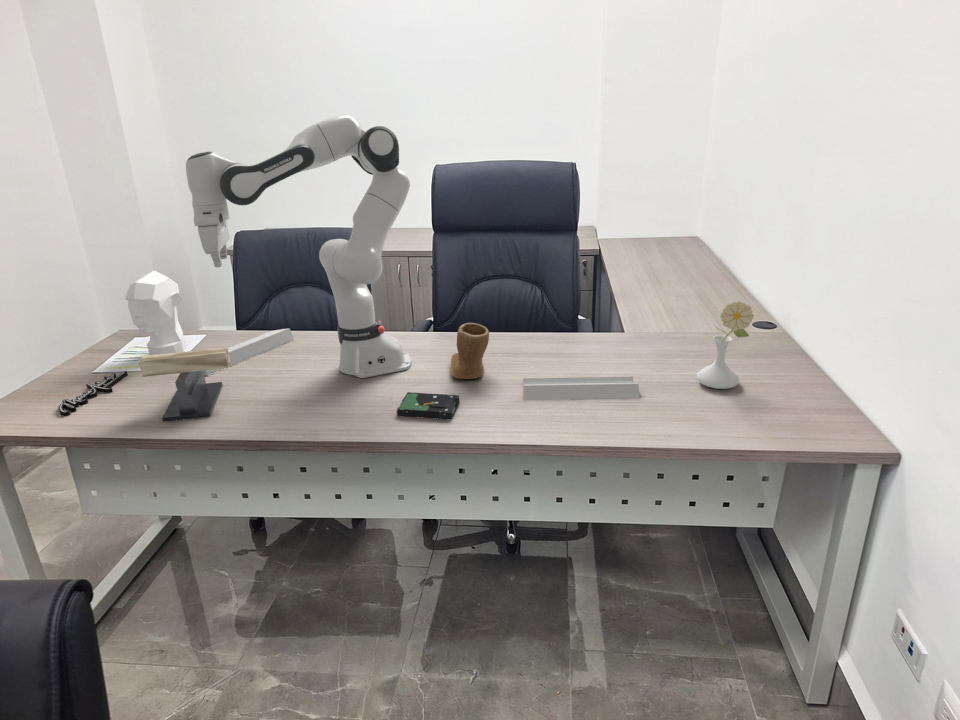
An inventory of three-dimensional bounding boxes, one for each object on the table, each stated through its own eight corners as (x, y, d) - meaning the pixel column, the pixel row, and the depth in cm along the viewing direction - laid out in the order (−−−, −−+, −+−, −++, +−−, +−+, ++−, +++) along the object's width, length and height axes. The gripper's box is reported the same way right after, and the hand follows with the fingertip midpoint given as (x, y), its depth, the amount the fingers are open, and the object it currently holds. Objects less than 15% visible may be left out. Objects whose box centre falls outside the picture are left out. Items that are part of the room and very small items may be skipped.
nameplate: (79, 412, 171) (44, 412, 172) (81, 417, 172) (45, 417, 172) (134, 371, 197) (103, 371, 197) (135, 375, 197) (105, 375, 198)
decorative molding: (191, 378, 200) (208, 377, 194) (185, 364, 199) (202, 362, 193) (276, 343, 226) (294, 341, 220) (272, 330, 225) (289, 328, 219)
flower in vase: (688, 385, 177) (697, 300, 168) (706, 372, 185) (716, 290, 175) (734, 398, 169) (747, 309, 159) (751, 384, 177) (764, 298, 167)
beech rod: (146, 371, 173) (142, 356, 171) (230, 362, 177) (227, 347, 175) (142, 377, 169) (138, 361, 168) (228, 367, 173) (225, 352, 172)
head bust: (125, 366, 203) (102, 282, 192) (160, 344, 220) (141, 266, 209) (170, 368, 201) (149, 283, 190) (202, 345, 218) (184, 266, 207)
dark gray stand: (222, 385, 187) (215, 353, 183) (210, 416, 169) (202, 382, 165) (179, 390, 185) (172, 358, 181) (162, 422, 167) (153, 387, 163)
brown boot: (490, 381, 184) (489, 333, 178) (449, 382, 184) (447, 334, 178) (489, 360, 198) (488, 315, 192) (451, 362, 198) (449, 316, 192)
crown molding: (631, 382, 182) (632, 371, 180) (640, 401, 171) (641, 389, 169) (523, 384, 183) (522, 372, 182) (524, 403, 172) (524, 391, 171)
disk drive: (459, 403, 173) (407, 400, 175) (459, 394, 172) (407, 391, 174) (451, 422, 164) (396, 418, 166) (451, 412, 162) (395, 408, 165)
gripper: (206, 208, 184) (216, 255, 189) (192, 221, 165) (202, 272, 171) (229, 207, 185) (238, 253, 190) (217, 219, 166) (227, 270, 172)
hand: (221, 262), depth 180 cm, fingers open, 8 cm apart
